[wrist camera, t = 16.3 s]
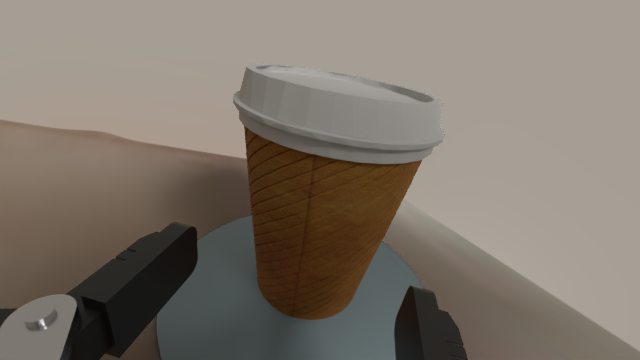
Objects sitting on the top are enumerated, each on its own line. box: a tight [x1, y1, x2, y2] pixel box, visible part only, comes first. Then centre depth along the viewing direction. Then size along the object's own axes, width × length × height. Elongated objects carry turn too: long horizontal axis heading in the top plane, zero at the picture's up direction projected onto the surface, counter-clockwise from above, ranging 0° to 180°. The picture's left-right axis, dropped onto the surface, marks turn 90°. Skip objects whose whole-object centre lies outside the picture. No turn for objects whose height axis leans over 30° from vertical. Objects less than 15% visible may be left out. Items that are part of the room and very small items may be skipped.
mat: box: [157, 215, 424, 360], centre depth 17 cm, size 16×16×1 cm
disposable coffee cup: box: [233, 64, 445, 320], centre depth 15 cm, size 10×10×12 cm
